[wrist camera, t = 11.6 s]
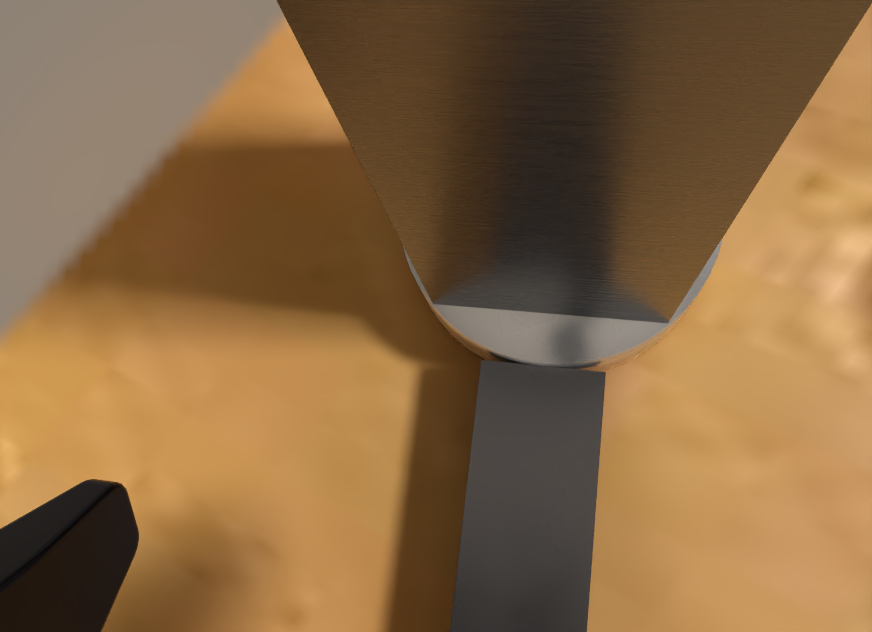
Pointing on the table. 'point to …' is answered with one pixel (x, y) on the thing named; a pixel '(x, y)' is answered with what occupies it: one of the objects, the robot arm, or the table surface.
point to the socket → (567, 134)
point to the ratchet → (536, 459)
